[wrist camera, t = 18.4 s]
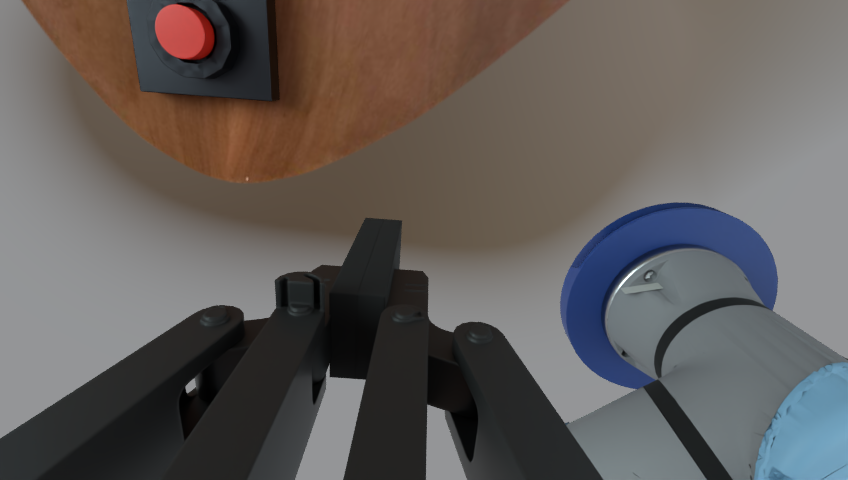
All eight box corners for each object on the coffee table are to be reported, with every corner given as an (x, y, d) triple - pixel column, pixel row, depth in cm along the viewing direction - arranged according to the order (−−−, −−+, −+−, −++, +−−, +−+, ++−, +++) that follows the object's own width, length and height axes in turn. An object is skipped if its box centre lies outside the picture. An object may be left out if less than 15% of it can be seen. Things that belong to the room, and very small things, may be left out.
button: (212, 9, 35) (201, 5, 33) (217, 61, 36) (207, 60, 35) (164, 5, 35) (150, 2, 33) (170, 58, 36) (158, 57, 35)
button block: (274, -19, 37) (256, -30, 34) (279, 100, 41) (264, 102, 37) (137, -30, 37) (105, -42, 34) (155, 90, 41) (127, 91, 37)
